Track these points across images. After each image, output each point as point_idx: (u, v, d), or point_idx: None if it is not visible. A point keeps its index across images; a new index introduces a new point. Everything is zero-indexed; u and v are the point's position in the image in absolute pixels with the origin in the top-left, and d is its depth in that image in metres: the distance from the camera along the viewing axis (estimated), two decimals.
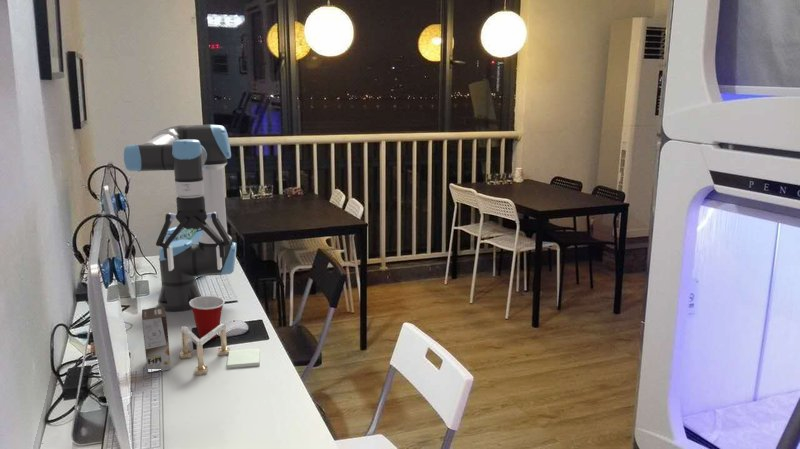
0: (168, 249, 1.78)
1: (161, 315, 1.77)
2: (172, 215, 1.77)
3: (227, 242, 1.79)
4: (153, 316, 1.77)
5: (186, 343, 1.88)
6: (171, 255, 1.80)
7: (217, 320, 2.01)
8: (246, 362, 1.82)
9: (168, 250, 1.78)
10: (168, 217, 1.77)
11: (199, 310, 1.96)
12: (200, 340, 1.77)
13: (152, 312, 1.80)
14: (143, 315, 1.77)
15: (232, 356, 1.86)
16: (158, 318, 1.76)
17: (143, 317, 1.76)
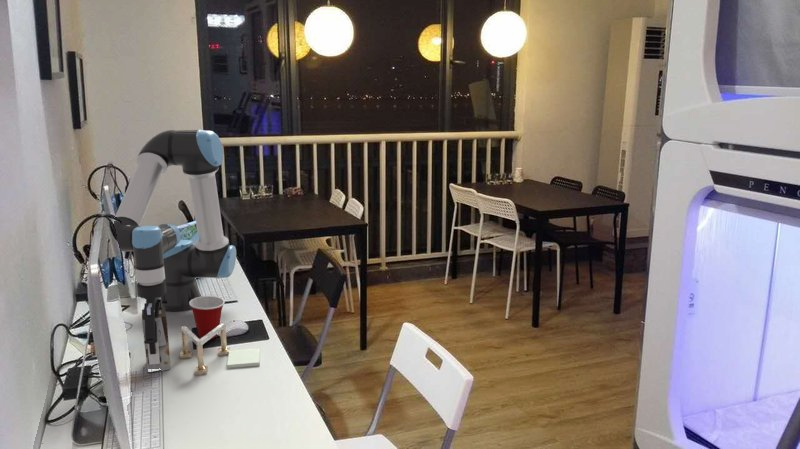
0: None
1: (161, 315, 1.77)
2: None
3: None
4: None
5: (186, 343, 1.88)
6: None
7: (217, 320, 2.01)
8: (246, 362, 1.82)
9: None
10: None
11: (199, 310, 1.96)
12: (200, 340, 1.77)
13: None
14: (143, 315, 1.77)
15: (232, 356, 1.86)
16: (158, 318, 1.76)
17: (143, 317, 1.76)
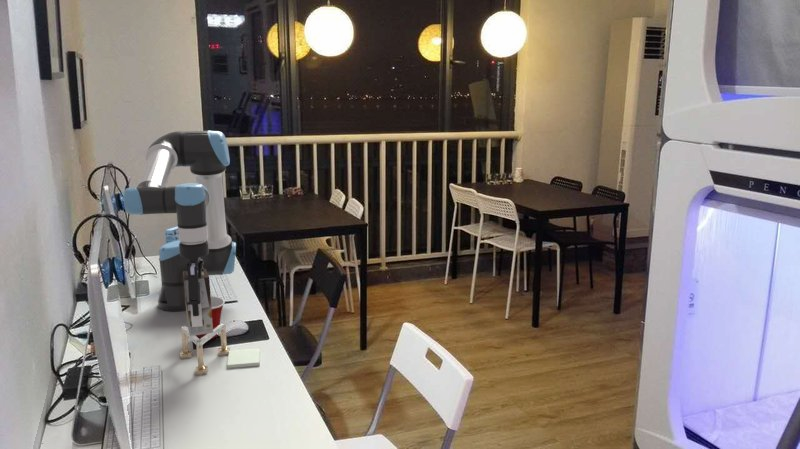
0: None
1: (204, 276, 1.71)
2: None
3: (189, 302, 1.67)
4: None
5: (186, 343, 1.88)
6: None
7: (217, 320, 2.01)
8: (246, 362, 1.82)
9: None
10: None
11: None
12: (200, 340, 1.77)
13: None
14: (185, 276, 1.71)
15: (232, 356, 1.86)
16: (201, 279, 1.70)
17: (185, 278, 1.70)
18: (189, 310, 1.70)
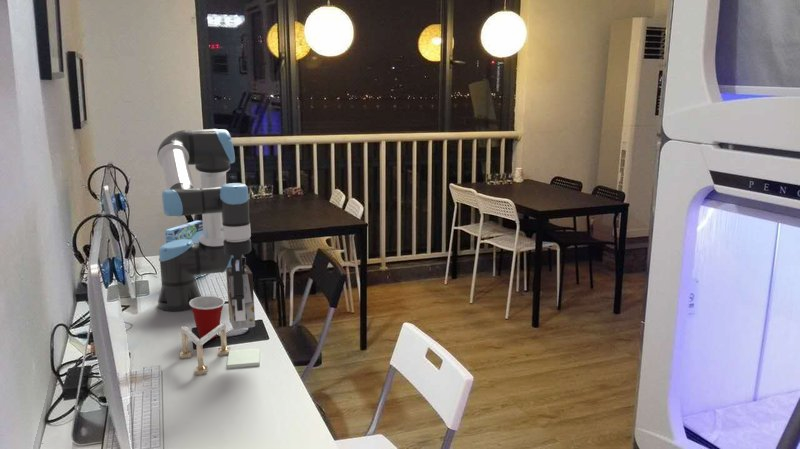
0: None
1: (247, 272, 1.78)
2: None
3: (234, 297, 1.74)
4: None
5: (186, 343, 1.88)
6: None
7: (217, 320, 2.01)
8: (246, 362, 1.82)
9: None
10: None
11: (199, 310, 1.96)
12: (200, 340, 1.77)
13: None
14: (229, 272, 1.79)
15: (232, 356, 1.86)
16: (245, 275, 1.77)
17: (230, 274, 1.77)
18: (233, 305, 1.77)
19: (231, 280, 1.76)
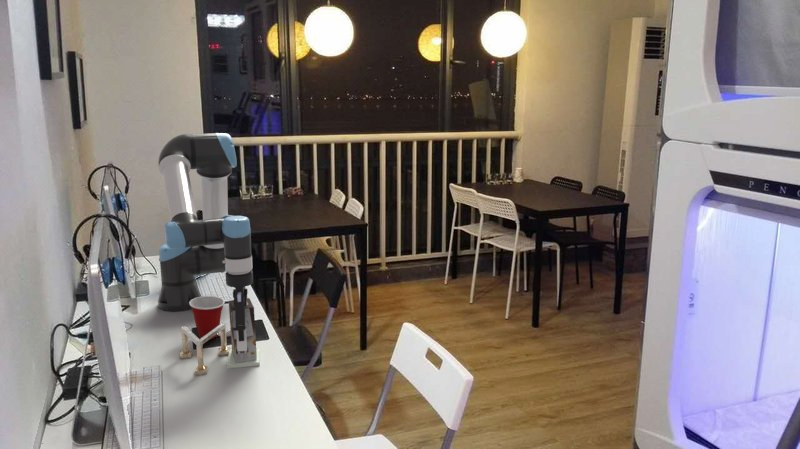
0: None
1: (249, 306, 1.81)
2: None
3: (235, 328, 1.75)
4: None
5: (186, 343, 1.88)
6: None
7: (217, 320, 2.01)
8: (246, 362, 1.82)
9: None
10: None
11: (199, 310, 1.96)
12: (200, 340, 1.77)
13: None
14: (231, 306, 1.82)
15: (232, 356, 1.86)
16: (246, 309, 1.80)
17: (232, 308, 1.80)
18: (235, 338, 1.80)
19: (233, 314, 1.79)
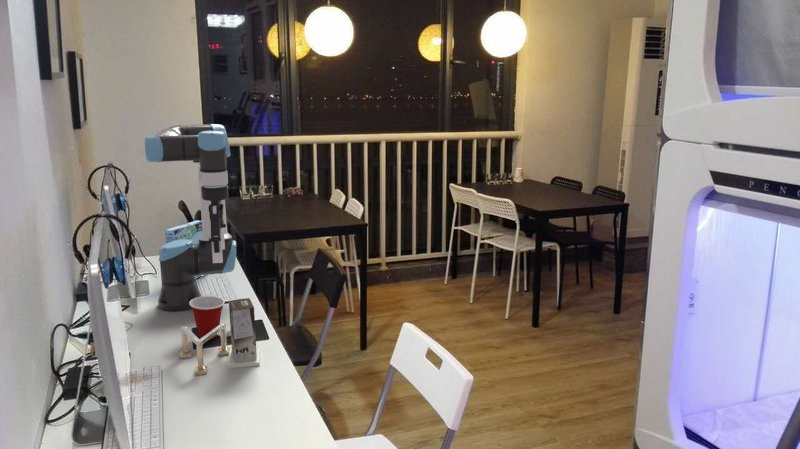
0: None
1: (249, 306, 1.81)
2: None
3: (210, 238, 1.77)
4: (241, 307, 1.81)
5: (186, 343, 1.88)
6: None
7: (217, 320, 2.01)
8: (246, 362, 1.82)
9: None
10: None
11: (199, 310, 1.96)
12: (200, 340, 1.77)
13: (239, 303, 1.84)
14: (231, 306, 1.82)
15: (232, 356, 1.86)
16: (246, 309, 1.80)
17: (232, 308, 1.80)
18: (235, 338, 1.80)
19: (233, 314, 1.79)
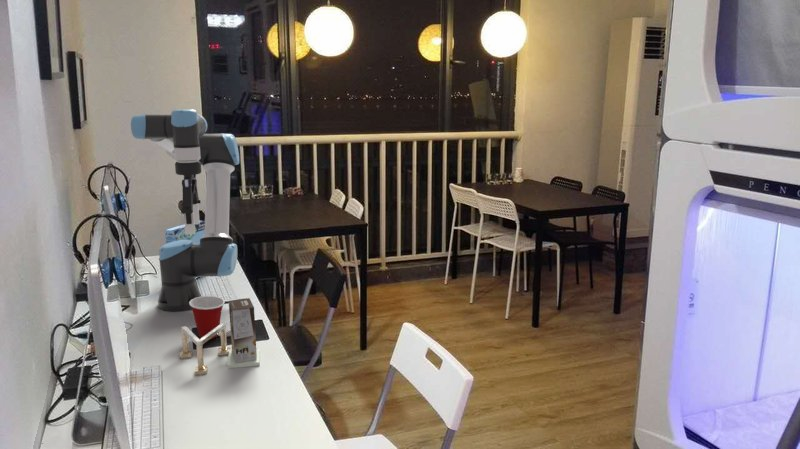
0: None
1: (249, 306, 1.81)
2: None
3: (182, 210, 1.87)
4: (241, 307, 1.81)
5: (186, 343, 1.88)
6: (193, 211, 2.03)
7: (217, 320, 2.01)
8: (246, 362, 1.82)
9: None
10: None
11: (199, 310, 1.96)
12: (200, 340, 1.77)
13: (239, 303, 1.84)
14: (231, 306, 1.82)
15: (232, 356, 1.86)
16: (246, 309, 1.80)
17: (232, 308, 1.80)
18: (235, 338, 1.80)
19: (233, 314, 1.79)
